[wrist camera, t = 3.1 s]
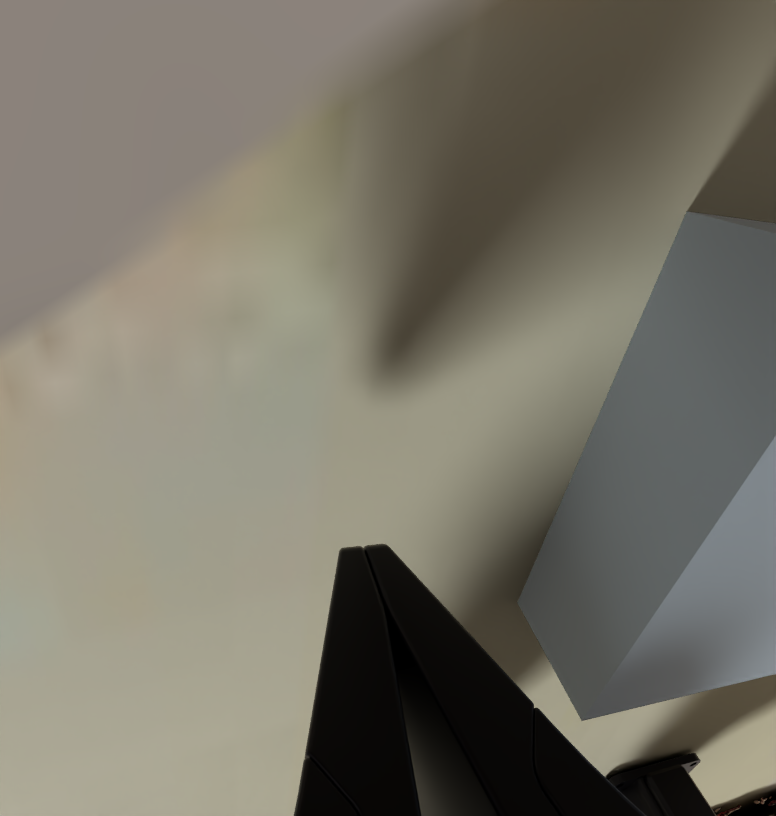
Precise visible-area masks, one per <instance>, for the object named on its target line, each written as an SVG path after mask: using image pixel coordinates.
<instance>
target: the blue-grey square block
mask: <svg viewBox="0 0 776 816" xmlns="http://www.w3.org/2000/svg"><path fill="white" fill-rule="evenodd" d="M517 603H518V605H519V607H520V609H521V610H522V612H523V614H524V616H525V618H526V619H527V621H528V623H529V625H530V627H531V629H532V630H533V632H534V634H535V636H536V638H537V640H538V641H539V643H540V645H541V647H542V649H543V651H544V652H545V654H546V656H547V658H548V660H549V662H550V663H551V665H552V667H553V669H554V671H555V673H556V674H557V676H558V678H559V680H560V682H561V683H562V685H563V687H564V689H565V691H566V693H567V694H568V696H569V698H570V700H571V702H572V704H573V705H574V707H575V709H576V711H577V713H578V715H579V716H580V718H581V720H582V721H583V720H587V719H592V718H596V717H600V716H604V715H608V714H612V713H616V712H621V711H625V710H629V709H633V708H637V707H641V706H645V705H650V704H654V703H658V702H662V701H666V700H670V699H674V698H678V697H683V696H687V695H691V694H695V693H699V692H703V691H707V690H712V689H716V688H720V687H724V686H728V685H732V684H736V683H740V682H745V681H749V680H753V679H757V678H761V677H765V676H769V675H774V674H776V223H770V222H762V221H755V220H748V219H740V218H733V217H725V216H718V215H710V214H703V213H695V212H688V211H687V212H686V214H685V217H684V219H683V221H682V224H681V226H680V228H679V230H678V233H677V235H676V237H675V240H674V242H673V244H672V247H671V249H670V251H669V254H668V256H667V258H666V260H665V263H664V265H663V267H662V270H661V272H660V274H659V277H658V279H657V281H656V284H655V286H654V288H653V290H652V293H651V295H650V297H649V300H648V302H647V304H646V307H645V309H644V311H643V314H642V316H641V318H640V321H639V323H638V325H637V327H636V330H635V332H634V334H633V337H632V339H631V341H630V344H629V346H628V348H627V351H626V353H625V355H624V357H623V360H622V362H621V364H620V367H619V369H618V371H617V374H616V376H615V378H614V381H613V383H612V385H611V387H610V390H609V392H608V394H607V397H606V399H605V401H604V404H603V406H602V408H601V411H600V413H599V415H598V417H597V420H596V422H595V424H594V427H593V429H592V431H591V434H590V436H589V438H588V441H587V443H586V445H585V448H584V450H583V452H582V454H581V457H580V459H579V461H578V464H577V466H576V468H575V471H574V473H573V475H572V478H571V480H570V482H569V484H568V487H567V489H566V491H565V494H564V496H563V498H562V501H561V503H560V505H559V508H558V510H557V512H556V514H555V517H554V519H553V521H552V524H551V526H550V528H549V531H548V533H547V535H546V538H545V540H544V542H543V544H542V547H541V549H540V551H539V554H538V556H537V558H536V561H535V563H534V565H533V568H532V570H531V572H530V575H529V577H528V579H527V581H526V584H525V586H524V588H523V591H522V593H521V595H520V598H519V600H518V602H517Z"/></svg>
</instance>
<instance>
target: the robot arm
mask: <svg viewBox="0 0 776 816" xmlns="http://www.w3.org/2000/svg"><path fill="white" fill-rule="evenodd" d="M699 763H700V759H699V758H698V756H697V755H696V753H691V754H688V755H684V756H680V757H677V758H673V759H670V760H666V761H663V762H659V763H656V764H652V765H649V766H645V767H641V768H638V769H634V770H631V771H627V772H624V773H620V774H617V775H615V776H613V777H611V778H610V779H609V780H607V779H606V778H605V777H604V776H603V775H602V774H601V773H600V772H599V771H598V770H597V769H596V768H595V767H594V766H593V765H592V764H591V763H590V762H589V761H588V760H587V759H586V758H585V757H584V756H583V755H582V754H581V753H580V752H579V751H578V750H577V749H576V748H575V747H574V746H573V745H572V744H571V743H570V742H569V741H568V740H567V739H566V738H565V737H564V735H563V734H562V733H561V732H560V731H559V730H558V729H557V728H556V727H555V726H554V725H553V724H552V723H551V722H550V721H549V720H548V718H547V717H546V716H545V715H544V714H543V713H542V712H541V711H540V710H539V709H538V708H534V704H533V702H532V701H531V700H530V699H529V698H528V697H527V696H526V695H525V694H524V693H523V692H522V690H521V689H520V688H519V687H518V686H517V685H516V684H515V683H514V682H513V681H512V680H511V678H510V677H509V676H508V675H507V674H506V673H505V672H504V671H503V670H502V669H501V668H500V667H499V665H498V664H497V663H496V662H495V661H494V660H493V659H492V658H491V657H490V656H489V655H488V654H487V652H486V651H485V650H484V649H483V648H482V647H481V646H480V645H479V644H478V643H477V642H476V640H475V639H474V638H473V637H472V636H471V635H470V634H469V633H468V632H467V631H466V630H465V629H464V627H463V626H462V625H461V624H460V623H459V622H458V621H457V620H456V619H455V618H454V617H453V616H452V614H451V613H450V612H449V611H448V610H447V609H446V608H445V607H444V606H443V605H442V604H441V603H440V601H439V600H438V599H437V598H436V597H435V596H434V595H433V594H432V593H431V592H430V591H429V589H428V588H427V587H426V586H425V585H424V584H423V583H422V582H421V581H420V580H419V579H418V578H417V576H416V575H415V574H414V573H413V572H412V571H411V570H410V569H409V568H408V567H407V566H406V565H405V563H404V562H403V561H402V560H401V559H400V558H399V557H398V556H397V555H396V554H395V553H394V551H393V550H392V549H391V548H390V547H389V546H387V545H385V544H376V545H367V546H365V547H364V548H362V547H361V546H356V547H346V548H341V549H340V551H339V556H338V562H337V568H336V574H335V580H334V586H333V592H332V598H331V604H330V610H329V616H328V621H327V627H326V633H325V639H324V645H323V651H322V657H321V663H320V669H319V675H318V681H317V687H316V693H315V699H314V705H313V711H312V717H311V722H310V728H309V734H308V740H307V746H306V752H305V760H304V762H303V768H302V774H301V780H300V786H299V792H298V797H297V802H296V807H295V812H294V816H716V814H715V813H714V811H713V810H712V808H711V807H710V805H709V804H708V802H707V801H706V799H705V798H704V796H703V795H702V793H701V792H700V790H699V789H698V787H697V786H696V784H695V783H694V781H693V780H692V778H691V777H690V775H689V774H688V773H689V772H690V771H691V770H692V769H693V768H694V767H696V766H697V765H698V764H699Z"/></svg>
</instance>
